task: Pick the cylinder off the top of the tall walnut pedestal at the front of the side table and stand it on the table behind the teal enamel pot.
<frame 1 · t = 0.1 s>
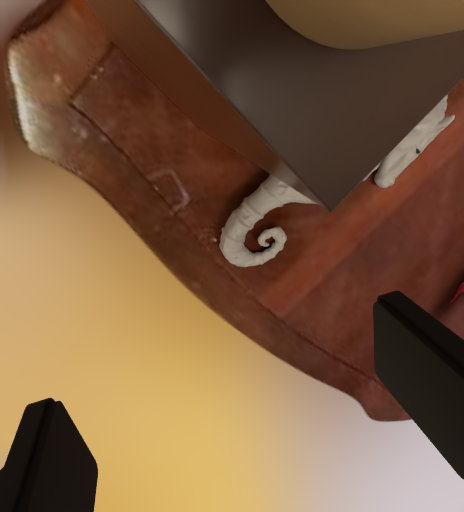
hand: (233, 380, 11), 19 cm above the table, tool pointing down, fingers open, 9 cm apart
pedestal: (197, 39, 24), on the table
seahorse: (315, 172, 29), on the table
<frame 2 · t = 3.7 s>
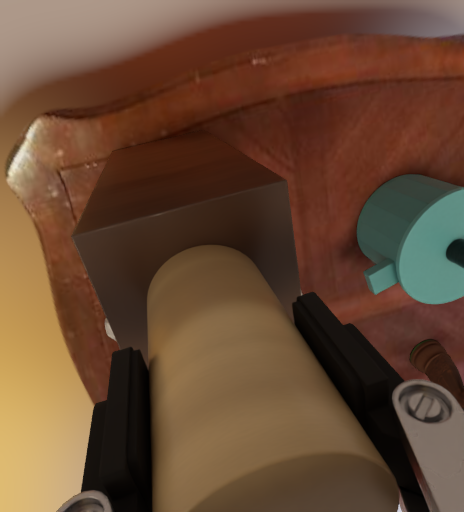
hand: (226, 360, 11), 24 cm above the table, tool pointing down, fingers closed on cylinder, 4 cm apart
chess piece: (422, 353, 50), on the table
pot lid: (451, 247, 33), point 7 cm above the table, touching pot
cylinder: (207, 298, 15), point 20 cm above the table, touching gripper, pedestal
pot: (399, 221, 40), on the table
pedestal: (171, 185, 32), on the table
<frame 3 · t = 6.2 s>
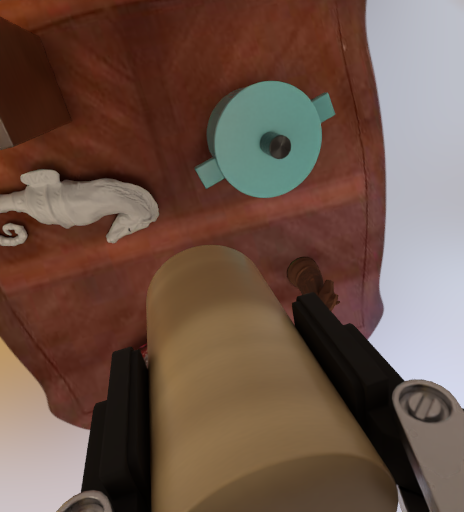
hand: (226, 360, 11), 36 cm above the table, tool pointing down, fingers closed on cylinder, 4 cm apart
chess piece: (300, 271, 54), on the table
pot lid: (268, 142, 37), point 7 cm above the table, touching pot
cylinder: (206, 298, 15), point 32 cm above the table, touching gripper
pot: (249, 134, 44), on the table
pedestal: (16, 90, 37), on the table
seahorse: (69, 208, 43), on the table
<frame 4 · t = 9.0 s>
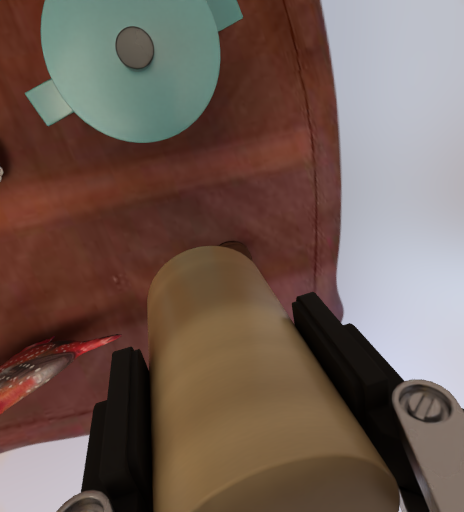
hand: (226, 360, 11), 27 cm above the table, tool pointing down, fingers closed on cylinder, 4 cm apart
chess piece: (228, 260, 41), on the table
pot lid: (135, 53, 24), point 7 cm above the table, touching pot
cylinder: (207, 299, 15), point 23 cm above the table, touching gripper
pot: (137, 61, 31), on the table
decorative bird figurine: (52, 335, 40), on the table
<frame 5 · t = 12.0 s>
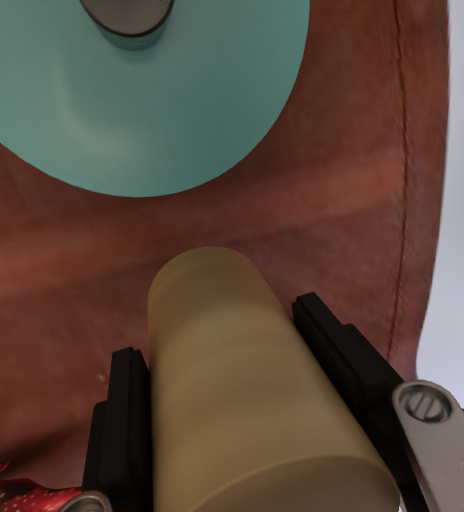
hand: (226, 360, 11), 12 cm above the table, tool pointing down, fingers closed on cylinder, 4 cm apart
pot lid: (129, 11, 11), point 7 cm above the table, touching pot
cylinder: (207, 299, 15), point 8 cm above the table, touching gripper
decorative bird figurine: (8, 457, 27), on the table
when the fingers open (4 cm above the table, at t = 14.4 s): cylinder stays where it is, on the table.
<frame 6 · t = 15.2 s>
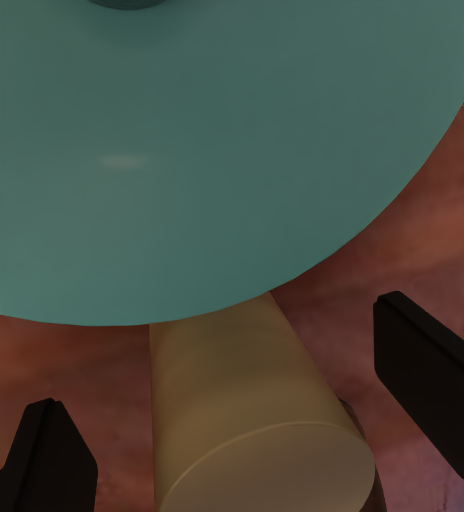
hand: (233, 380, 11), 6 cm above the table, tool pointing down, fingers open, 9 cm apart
chess piece: (312, 428, 21), on the table
cylinder: (205, 295, 16), on the table
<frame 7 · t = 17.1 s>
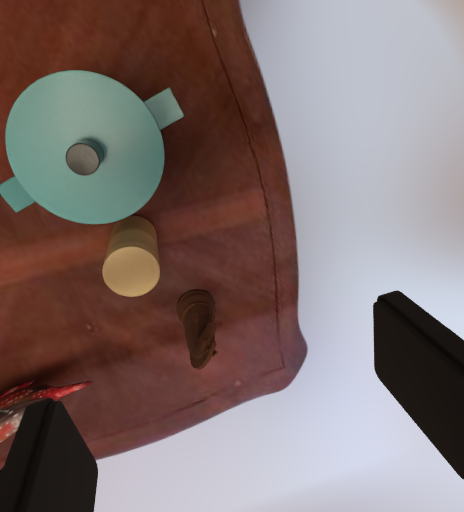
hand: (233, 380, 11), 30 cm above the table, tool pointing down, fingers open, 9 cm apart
chess piece: (194, 306, 45), on the table
pot lid: (89, 152, 28), point 7 cm above the table, touching pot
cylinder: (134, 236, 39), on the table
pot: (100, 142, 35), on the table
decorative bird figurine: (32, 378, 43), on the table
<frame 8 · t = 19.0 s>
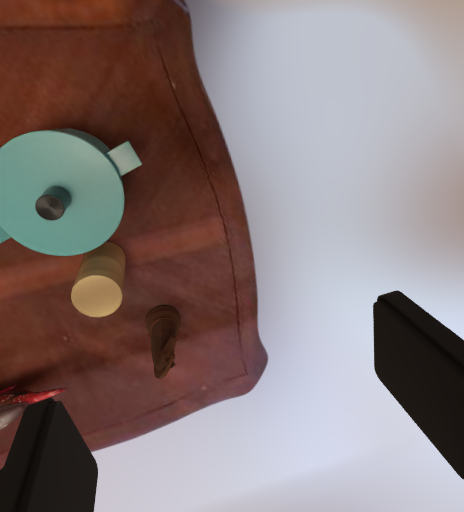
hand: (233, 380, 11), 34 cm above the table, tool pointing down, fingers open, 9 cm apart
chess piece: (162, 320, 49), on the table
pot lid: (59, 196, 33), point 7 cm above the table, touching pot
cylinder: (105, 259, 44), on the table
pot: (72, 178, 39), on the table
decorative bird figurine: (14, 383, 48), on the table
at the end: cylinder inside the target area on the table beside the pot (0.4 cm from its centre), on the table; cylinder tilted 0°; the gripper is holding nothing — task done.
